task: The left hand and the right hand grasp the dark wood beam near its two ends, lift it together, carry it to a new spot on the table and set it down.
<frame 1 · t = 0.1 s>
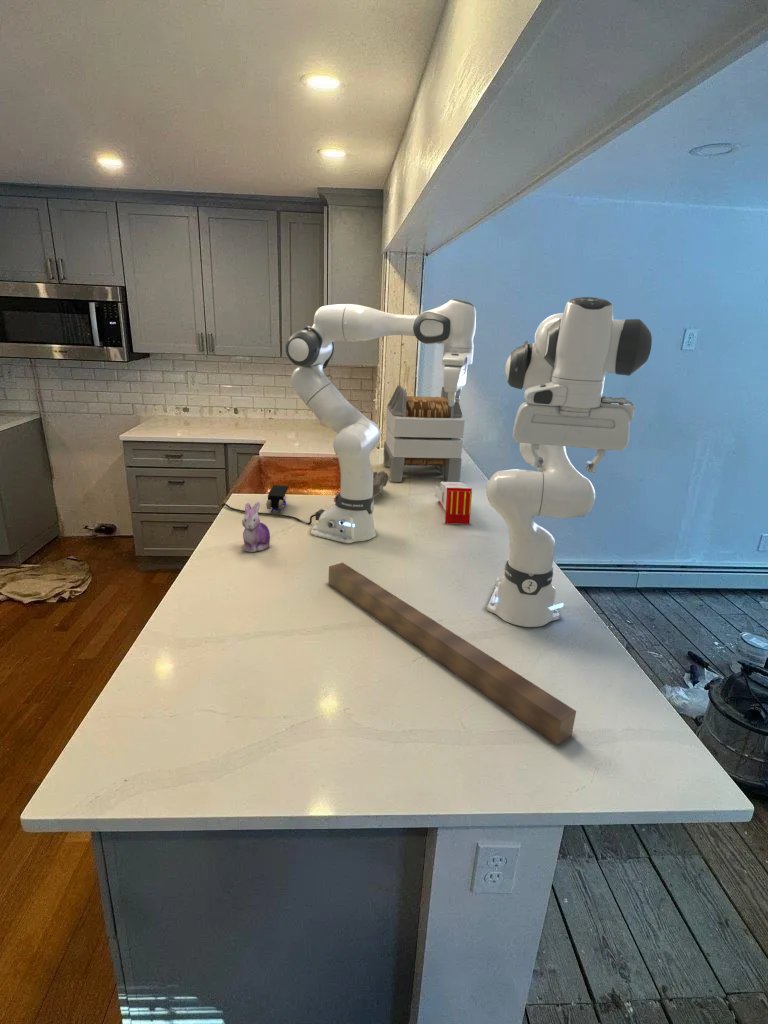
left hand: (453, 403, 174), 48 cm above the counter, tool pointing down, fingers open, 8 cm apart
right hand: (563, 469, 106), 48 cm above the counter, tool pointing down, fingers open, 8 cm apart
figurine character: (277, 508, 219), on the counter
figurine: (256, 547, 184), on the counter
white boxy stand: (419, 473, 275), on the counter
beam: (425, 644, 135), on the counter
fossil: (372, 495, 239), on the counter
red striped box: (451, 512, 224), on the counter
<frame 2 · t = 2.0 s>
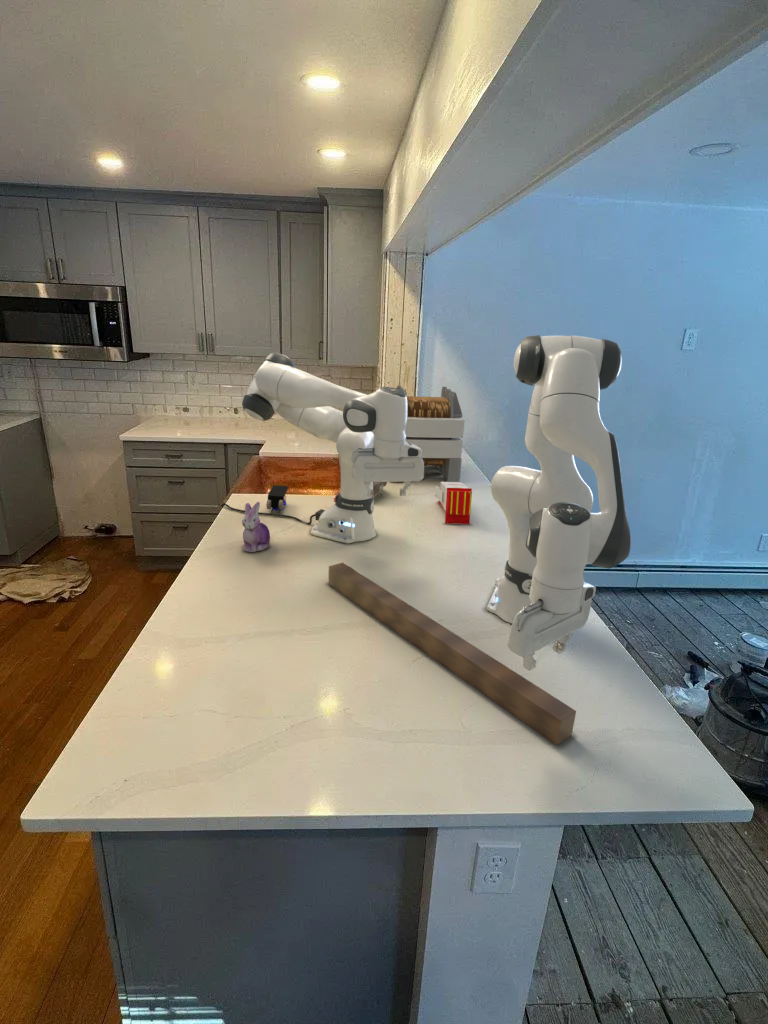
left hand: (386, 495, 160), 25 cm above the counter, tool pointing down, fingers open, 8 cm apart
right hand: (544, 659, 106), 14 cm above the counter, tool pointing down, fingers open, 8 cm apart
nothing on the counter moved.
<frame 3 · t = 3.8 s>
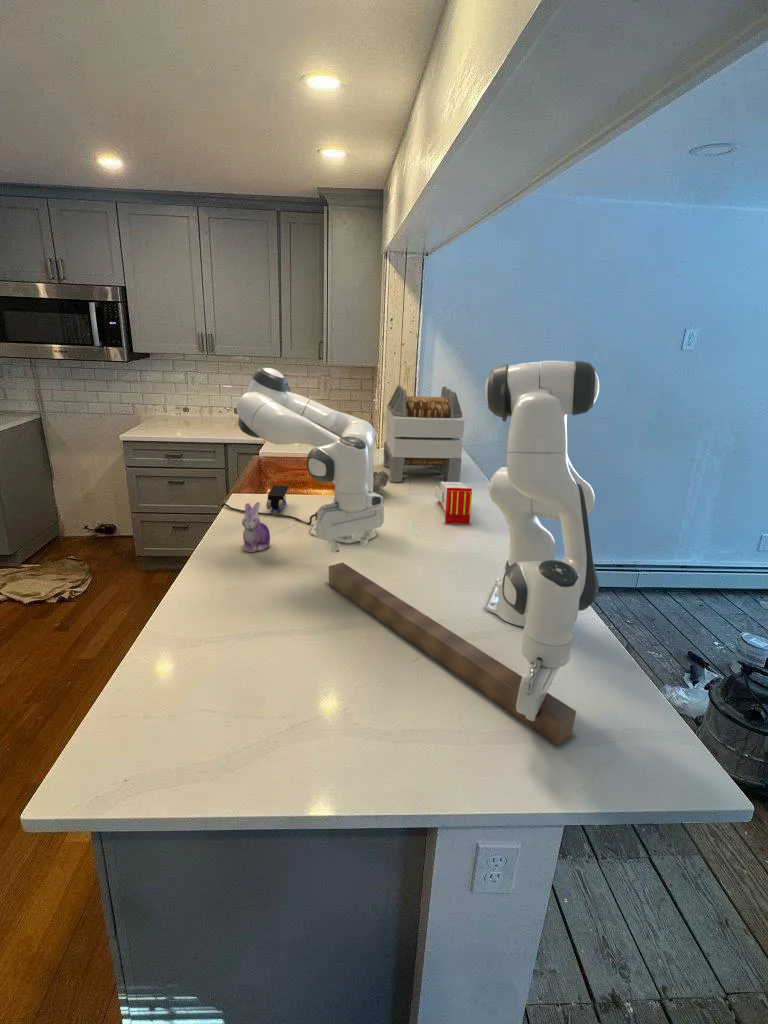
left hand: (349, 547, 154), 13 cm above the counter, tool pointing down, fingers open, 8 cm apart
right hand: (536, 707, 110), 3 cm above the counter, tool pointing down, fingers closed on beam, 6 cm apart
beam: (425, 644, 135), on the counter, touching right hand
everything else where it was.
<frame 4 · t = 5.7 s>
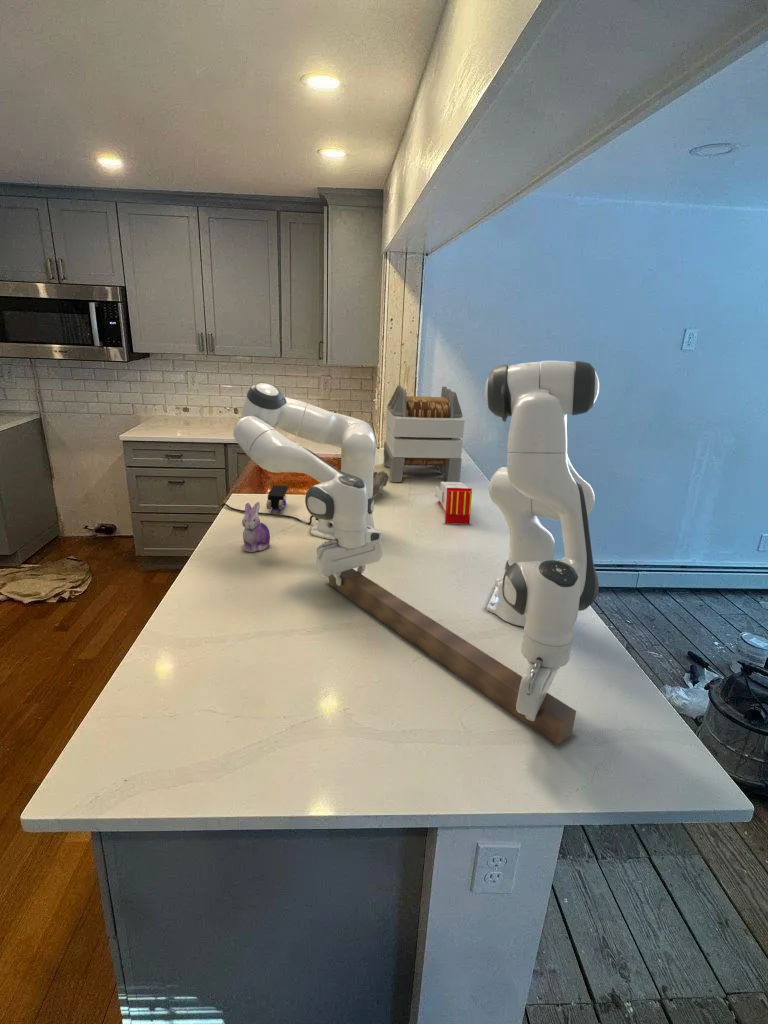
left hand: (349, 581, 157), 3 cm above the counter, tool pointing down, fingers closed on beam, 5 cm apart
right hand: (536, 707, 110), 3 cm above the counter, tool pointing down, fingers closed on beam, 6 cm apart
beam: (425, 644, 135), on the counter, touching left hand, right hand
everything else where it was.
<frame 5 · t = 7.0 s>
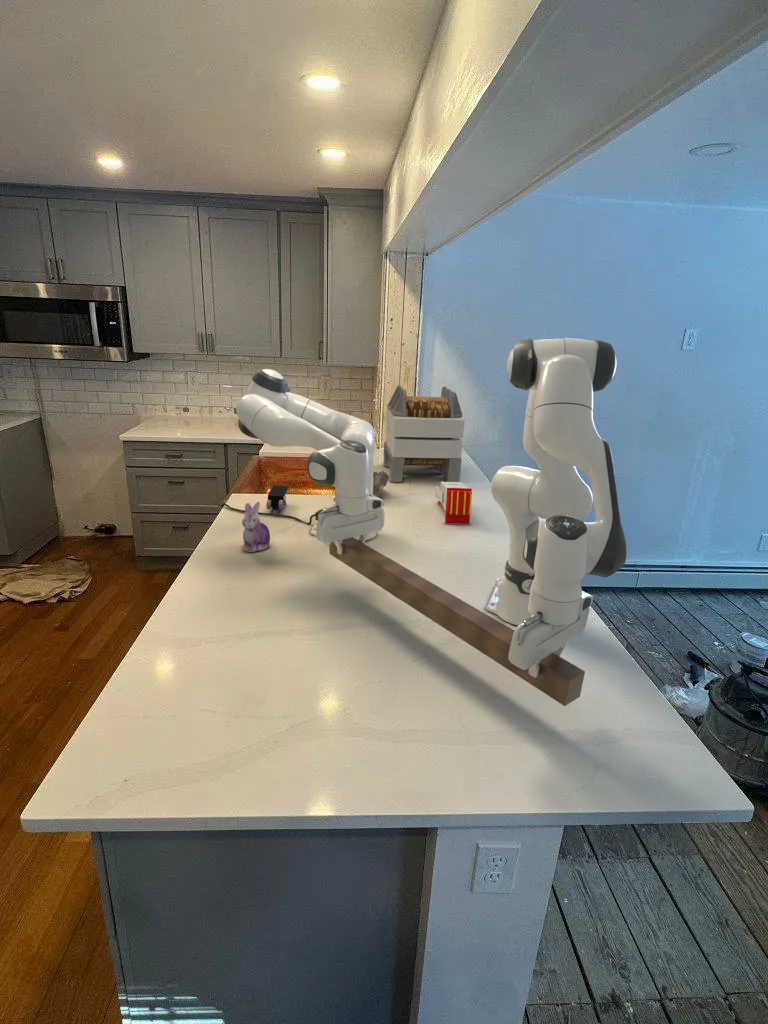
left hand: (350, 550, 154), 12 cm above the counter, tool pointing down, fingers closed on beam, 5 cm apart
right hand: (544, 668, 108), 12 cm above the counter, tool pointing down, fingers closed on beam, 5 cm apart
beam: (429, 610, 132), point 9 cm above the counter, touching left hand, right hand
everything else where it was.
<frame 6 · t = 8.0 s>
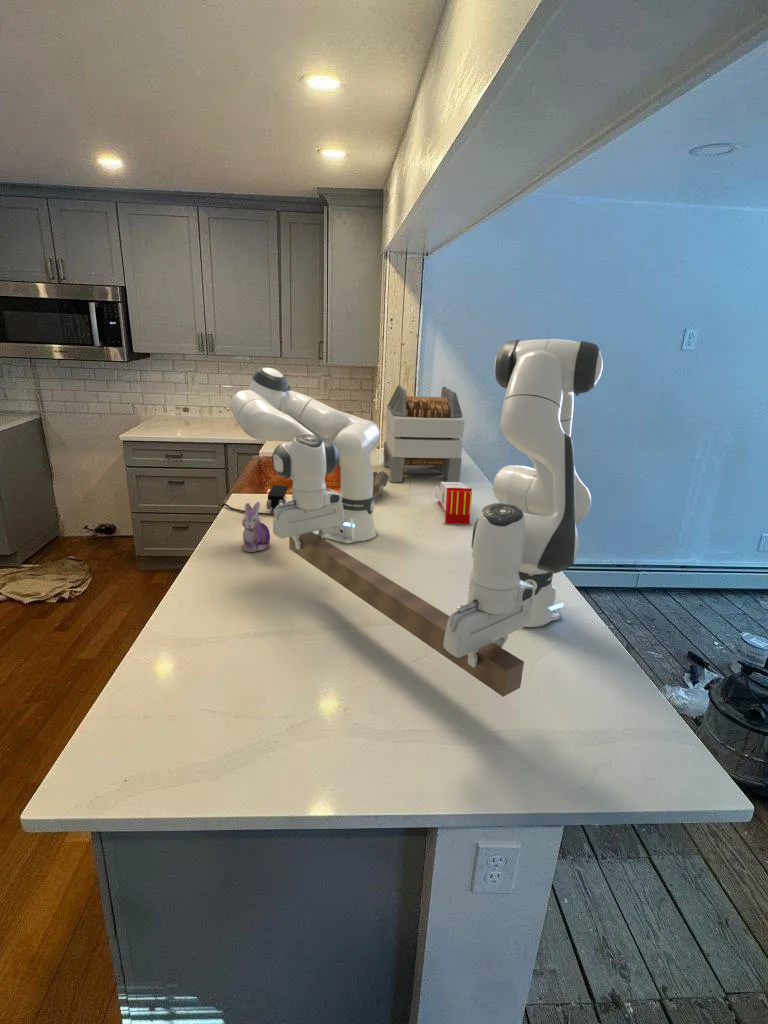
left hand: (309, 545, 154), 13 cm above the counter, tool pointing down, fingers closed on beam, 5 cm apart
right hand: (484, 659, 107), 13 cm above the counter, tool pointing down, fingers closed on beam, 5 cm apart
beam: (380, 604, 131), point 10 cm above the counter, touching left hand, right hand
everything else where it was.
when the left hand's fingers open (4 cm above the counter, at t = 10.2 s): beam stays where it is, on the counter.
when the right hand's fingers open (4 cm above the counter, at t = 10.2 s): beam stays where it is, on the counter.
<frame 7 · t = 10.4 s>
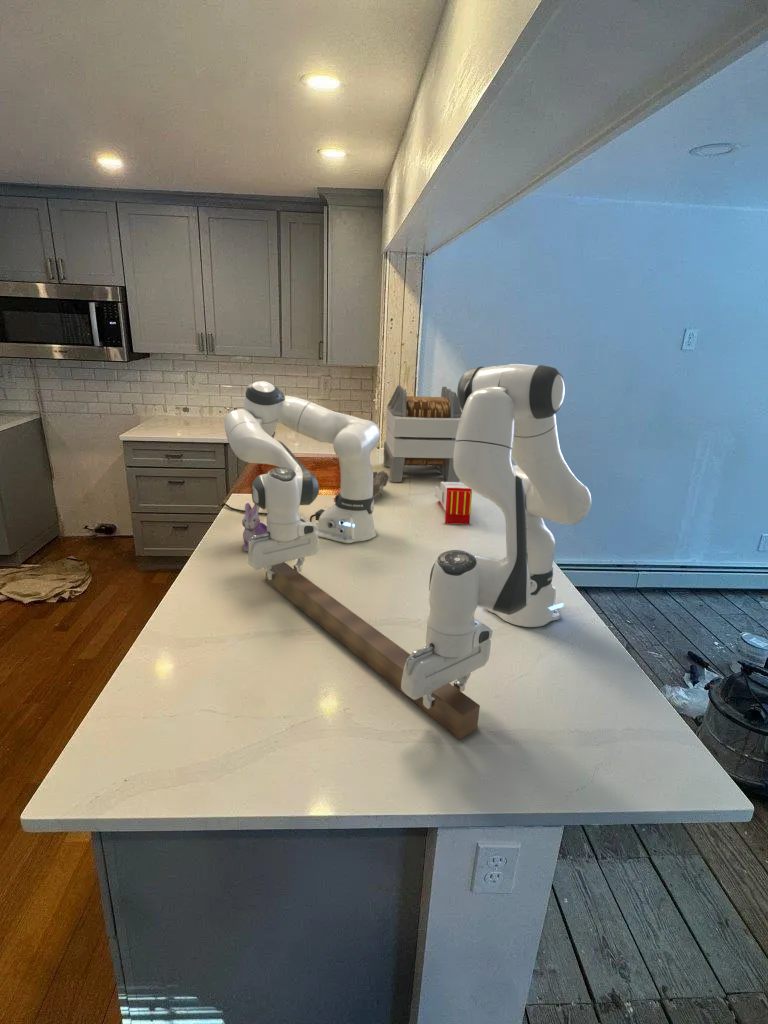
left hand: (284, 575, 157), 4 cm above the counter, tool pointing down, fingers open, 7 cm apart
right hand: (443, 698, 110), 4 cm above the counter, tool pointing down, fingers open, 7 cm apart
beam: (350, 640, 135), on the counter
everything else where it was.
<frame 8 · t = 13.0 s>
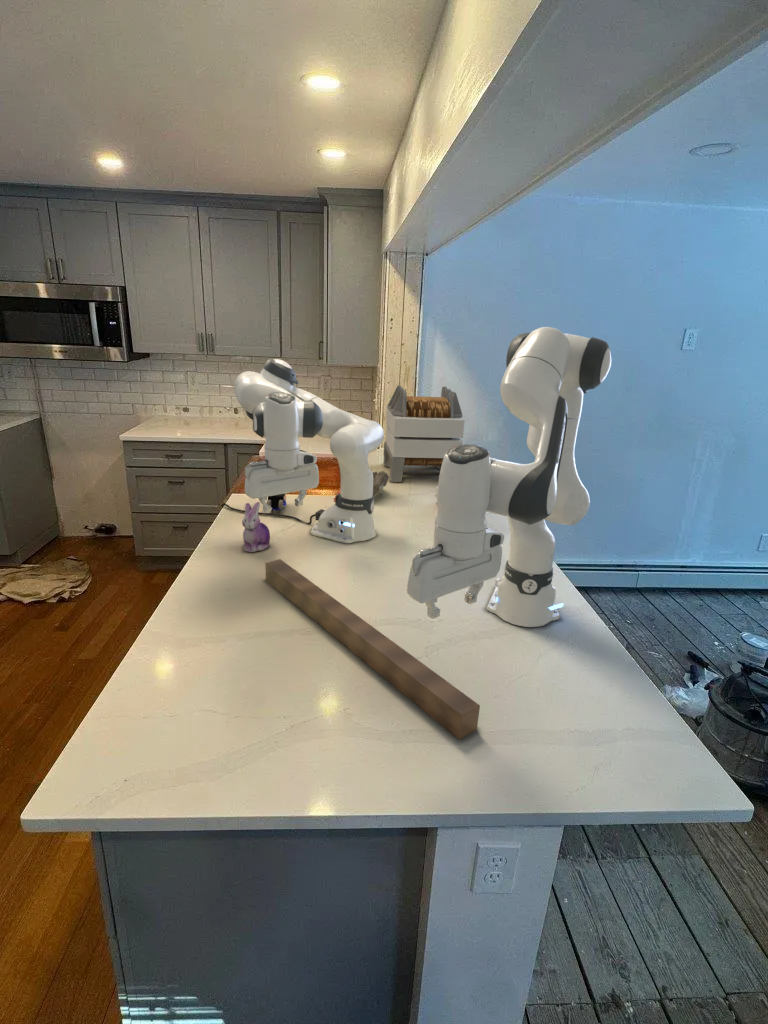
left hand: (283, 508, 150), 24 cm above the counter, tool pointing down, fingers open, 8 cm apart
right hand: (452, 609, 103), 24 cm above the counter, tool pointing down, fingers open, 8 cm apart
nothing on the counter moved.
at the end: beam inside the target area (0.1 cm from its centre), on the counter; beam tilted 0°; beam never tilted more than 1° during the clip; both hands held the beam at the same time; the left hand is holding nothing; the right hand is holding nothing; beam at rest at the end (0.0 cm/s) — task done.
